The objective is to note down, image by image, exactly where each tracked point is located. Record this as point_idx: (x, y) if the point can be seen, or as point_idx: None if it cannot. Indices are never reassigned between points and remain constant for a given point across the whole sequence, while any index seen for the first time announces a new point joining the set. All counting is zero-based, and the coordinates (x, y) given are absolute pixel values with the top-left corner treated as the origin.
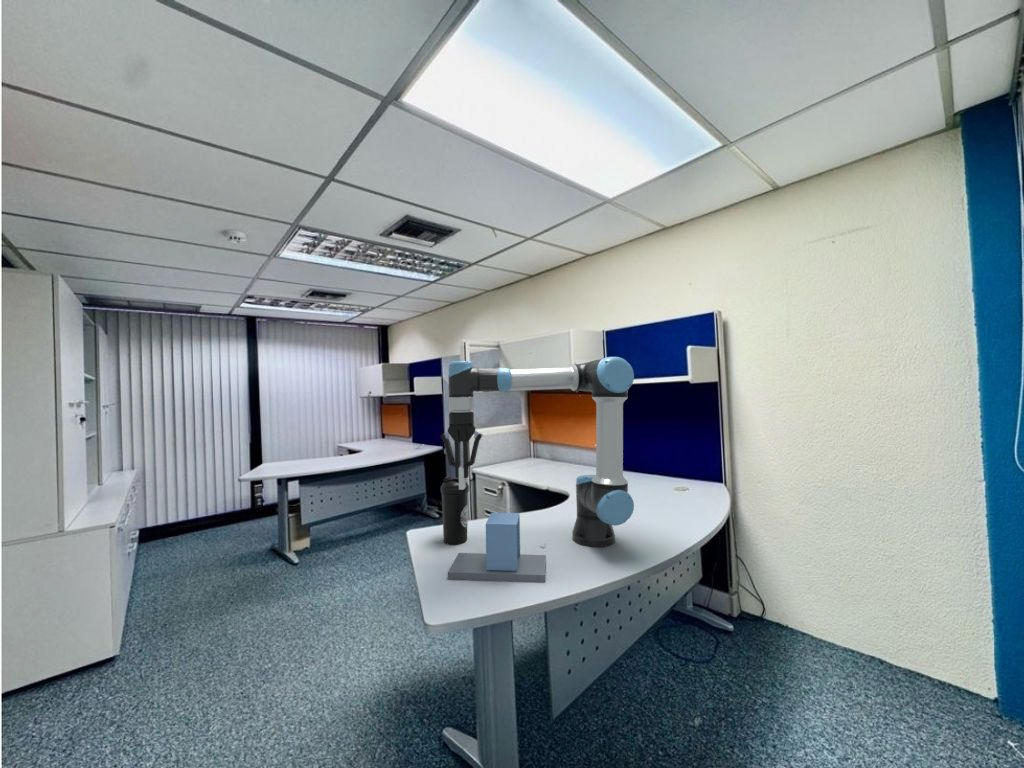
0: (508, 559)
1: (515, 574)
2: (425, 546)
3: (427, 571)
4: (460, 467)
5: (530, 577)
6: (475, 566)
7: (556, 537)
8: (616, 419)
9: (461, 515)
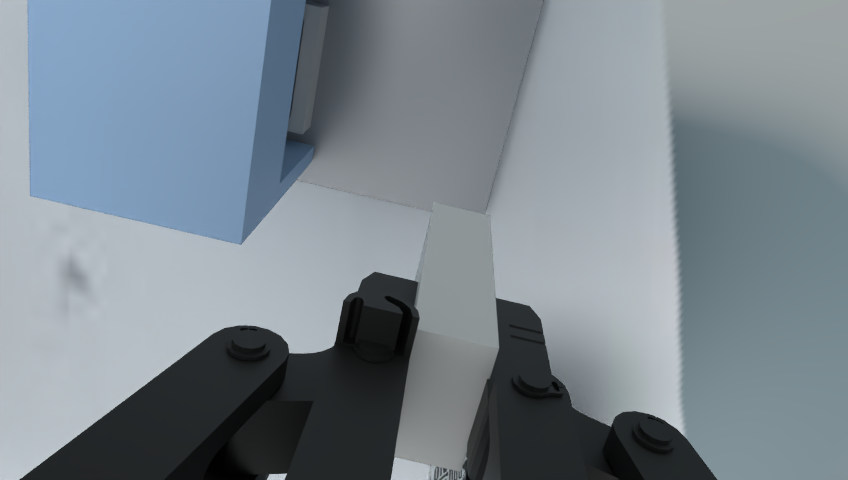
0: None
1: None
2: (640, 386)
3: (641, 99)
4: (465, 382)
5: None
6: (399, 38)
7: (10, 371)
8: None
9: (460, 478)
